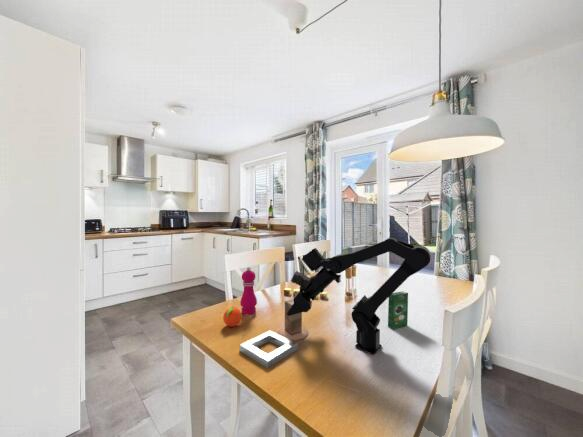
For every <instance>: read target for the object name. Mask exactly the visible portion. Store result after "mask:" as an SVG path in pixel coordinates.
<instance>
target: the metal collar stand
mask: <svg viewBox="0 0 583 437" xmlns="http://www.w3.org/2000/svg"><path fill="white" fill-rule="evenodd" d="M269 342H270V343H273V344H274V345H276V346H279V347H278V348H276V349H274V350H272V351H271V352H269V353H267V352H265V351H263V350H261V349H260V348H259V347H261V346H263V345H265V344H266V343H269ZM297 350H298V342H296V341H295V340H289V339H287V338H285V337H283V336H281V335H279V334H278V333H276V332H274V331H272V330H270V329H269V330H268V331H266V332H263V333H261V334H260V335H257V336H255V337H253V338H250V339H249V340H247V341H244V342H242V343H241V344H239V352H240V353H242V354H244V355H246V356H247V357H249V358H250V359H252V360H254V361H255V362H257V363H258V364H260V365H262V366H263V367H264V368H267V369H269V368H271V366H274V365H275V364H276V363H278V362H280V361H282V360H283V359H285V358H286V357H288V356H289V355H291V354H292V353H295V352H296V351H297Z"/></svg>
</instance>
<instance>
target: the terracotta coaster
mask: <svg viewBox="0 0 583 437" xmlns="http://www.w3.org/2000/svg"><path fill="white" fill-rule="evenodd" d="M277 334H279V335H281V336H283V337H285V338H287V339H289V340H292V341H299V340H303V339H305V338H306V337H307V336H308V334H309V331H308V329H307V328H306V327H304V325H302V332H301V333H298V334H295V335H292V336H291V335H290V334H289V333H287V332H286V331H285V325H282V326H281V327H280V328H278V330H277Z"/></svg>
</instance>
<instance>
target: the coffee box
mask: <svg viewBox="0 0 583 437" xmlns="http://www.w3.org/2000/svg"><path fill="white" fill-rule="evenodd" d="M408 306H409V293H408V292H407V291H394V292H393V293H392V294H391V295H390V296H389V297H388V306H387V308H388V313H387V327H388V328H389V329H391V330H396V329H399V328H402V327H403V328H404V327H407V326H408V313H409V312H408V311H409V307H408Z"/></svg>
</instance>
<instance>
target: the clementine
mask: <svg viewBox="0 0 583 437" xmlns="http://www.w3.org/2000/svg"><path fill="white" fill-rule="evenodd" d="M242 315H243V314H242V313H241V311H240V309H239V308H238V307H229V308H228V309H226V310H225V311H224V314H223V322H224V324H225V325H226V326H228V327H231V328H232V327H236V326H238V324H240V322H241V320H242Z"/></svg>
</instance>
